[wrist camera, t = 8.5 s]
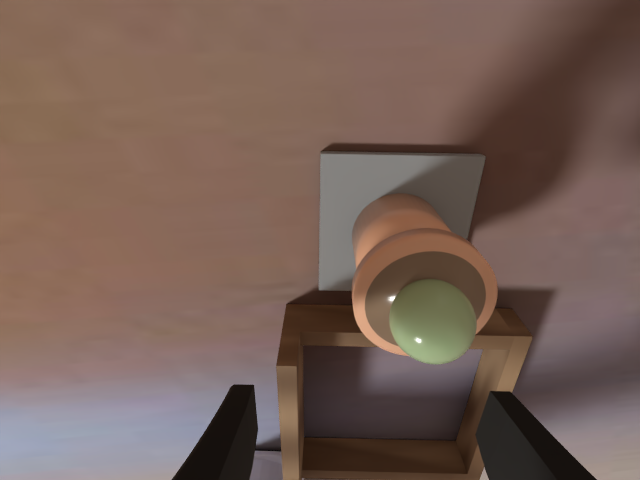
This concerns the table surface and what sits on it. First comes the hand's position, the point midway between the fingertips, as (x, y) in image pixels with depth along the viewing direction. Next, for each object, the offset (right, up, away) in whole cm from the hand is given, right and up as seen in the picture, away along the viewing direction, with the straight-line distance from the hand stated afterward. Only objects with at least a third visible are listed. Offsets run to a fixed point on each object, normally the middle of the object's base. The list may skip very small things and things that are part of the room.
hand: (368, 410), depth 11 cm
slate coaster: (+2, +6, +8) cm, 11 cm away
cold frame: (+3, -5, +14) cm, 15 cm away
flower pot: (+3, +5, +8) cm, 10 cm away
